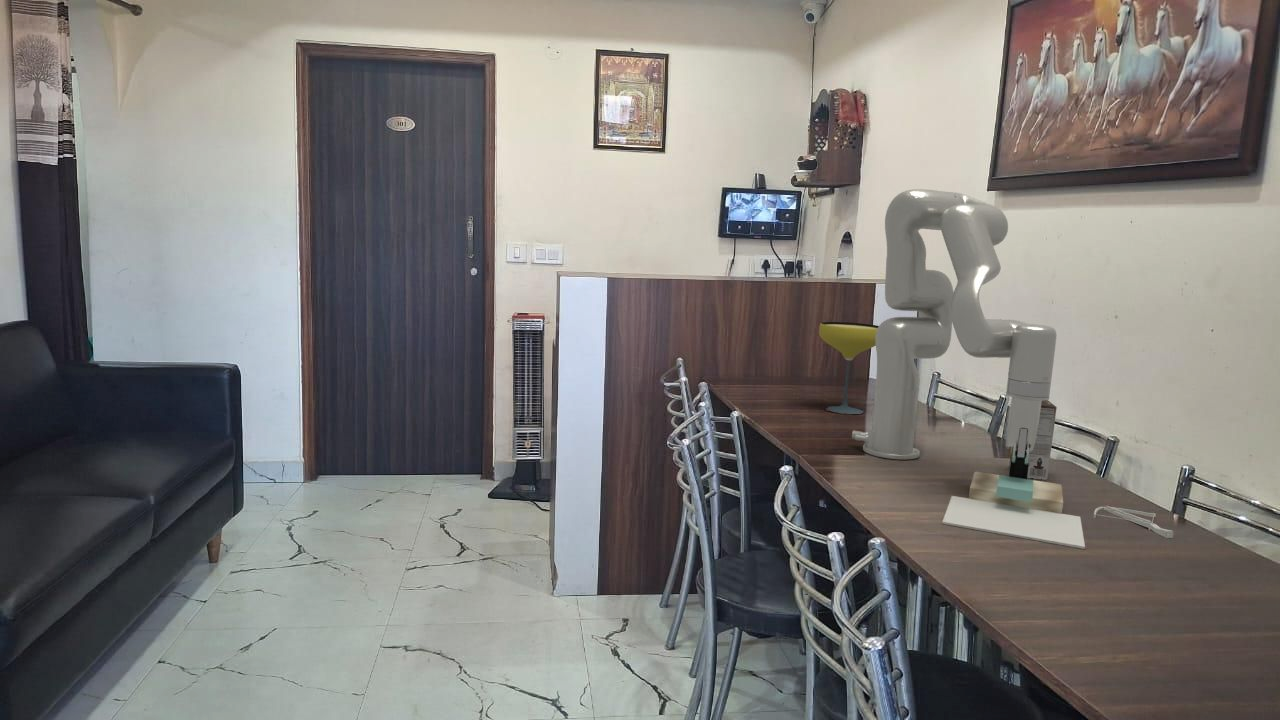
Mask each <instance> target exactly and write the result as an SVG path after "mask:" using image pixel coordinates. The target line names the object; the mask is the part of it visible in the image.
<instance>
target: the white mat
mask: <svg viewBox="0 0 1280 720" xmlns="http://www.w3.org/2000/svg"><path fill="white" fill-rule="evenodd" d="M941 525H946V526H947V525H948V526H952V527H959V528H964V529H969V530H976V531H980V532H986V533H990V534H991V533H992V534H998V535H1004V536H1009V537H1014V538H1019V539H1026V540H1031V541H1037V542H1042V543H1049V544H1054V545H1061V546H1065V547H1069V548H1076V549H1081V550H1085V549H1086V545H1085V544H1086V543H1085V539H1084V538H1085V537H1084V532H1083V525H1082V519H1081V516H1078V515H1072V514H1068V513H1067V514H1066V513H1062V514H1061V513H1055V512H1048V511H1042V510H1036V509H1030V508H1024V507H1018V506H1012V505H1005V504H999V503H993V502H987V501H981V500H975V499H969V497H962V496H954V495H951V497H950V500H949V503H948V505H947V507H946V511H945V513H944V516H943V519H942V523H941Z"/></svg>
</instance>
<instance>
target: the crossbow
mask: <svg viewBox="0 0 1280 720" xmlns="http://www.w3.org/2000/svg"><path fill="white" fill-rule="evenodd" d="M1101 510H1102V511H1103V510H1104V511H1106V512H1109V513H1110V514H1112V515H1115V516H1117V517H1118V520H1119V519H1120V520H1126V521H1129V522H1131V523H1135V524H1137V525H1140V526H1143V527H1144V528H1148V530H1149V531H1152V532H1154V533H1155V534H1157V535H1160V536H1161V537H1164V538H1165V539H1173V538H1174V530H1171V529H1165V528H1162V527H1160V526H1159V525H1157V524H1156V523H1155V522H1154V519H1155V518H1154V517H1157V513H1154V512H1145V511H1140V510H1133V509H1126V508H1122V507H1114V506H1109V505H1105V506H1098V507H1097V508H1095V510H1094V512H1093V519H1096V518H1097V516H1098V514H1097V513H1098V512H1099V511H1101ZM1134 514H1135V515H1134ZM1137 515H1140V516H1141V515H1142V516H1144V517H1149V518H1152V521H1151V520H1150V519H1146V518H1143V517H1139V516H1137ZM1099 516H1101V517H1104V515H1102V514H1099ZM1115 516H1112V518H1113V519H1116V517H1115ZM1106 517H1107V518H1108V517H1109V518H1110V516H1108V515H1106Z"/></svg>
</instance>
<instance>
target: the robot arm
mask: <svg viewBox="0 0 1280 720" xmlns="http://www.w3.org/2000/svg"><path fill="white" fill-rule="evenodd" d="M920 230H932V231H941V234H942V237H943V241H944V244H945V246H946V249H947V251H948V254H949V258H950V261H951V264H952V266H953V270H954V273H955V276H956V279H957V283H956V286H955V288H954V289H953V285H952V282H951V280H950V278H949V277H948V276H947V275H946V274H945V273H944V272H942V271H939V270H936V269H935V270H934V269H927V265H926V262H927V261H926V260H927V248H926V244H925V241H924V239H923V237H922V235H921V233H920V232H919V231H920ZM1008 230H1009V223H1008V219H1007V216H1006V215H1005V214H1004V212H1003V210H1001V209H1000V208H999V207H997V206H995V205H993V204H990V203H987V202H986V201H985V202H984V201H982V200H979V199H976V198H974V197H971V196H969V195H966V194H963V193H959V192H954V191H953V192H952V191H945V190H934V189H924V188H916V189H915V188H914V189H907V190H904V191H902V192H900V193H898V194H897V195H896V196H894V198H893V199H892V200H891V201H890V203H889V205H888V207H887V209H886V213H885V218H884V231H885V233H884V234H885V240H886V241H885V242H886V260H885V280H884V283H885V284H884V299H885V302H886V304H887V306H888V307H889V308H891V309H893V310H896V311H900V312H901V311H902V312H903V311H904V312H918V317H917V316H895V317H890V318H887V319H884V321H882V322H881V323H879V325H878V326H879V327H878V329H877V331H876V336H875V343H876V346H875V350H876V375H875V376H876V379H875V391H874V401H873V412H872V424H871V429H870V430H869V431H866V432H865V431H860V430H852V433H851V438H852V439H853V440H855V441H858V442H859V441H860V442H861V441H862V442H865V443H864V444H863V446H862V450H863V451H864V452H865V453H867V454H869V455H871V456H875V457H878V458H879V457H880V458H884V459H888V460H889V459H891V460H914V459H917V458H919V457H920V454H921V452H920V450H919V449H918V448H917V447H916V448H915V446H914V440H915V431H916V430H915V429H916V420H917V410H918V403H919V402H918V400H919V391H920V373H919V370H918V368H917V365H916V363H915V360H916V359H917V360H918V359H919V360H921V359H937V358H940V357H942V356H943V355H944V354H946V352H947V351H948V349H949V348H950V344H951V341H952V340H951V339H952V331H953V329H952V328H954V332H955V335H956V337H957V339H958V343H959V345H960V346H961V347H962V349H963V350H964V352H965V353H967V354H968V355H969V356H971V357H974V358H980V359H981V358H984V359H985V358H987V359H988V358H989V359H990V358H991V359H992V358H998V359H999V358H1000V359H1001V358H1002V359H1003V358H1005V359H1006V358H1008V359H1009V366H1008V375H1007V384H1006V392H1005V396H1008V397H1011V400H1010V405H1009V412H1008V420H1007V427H1006V428H1007V430H1006V437H1005V447H1006V448H1007V449H1010V448H1011V447H1013V446H1014V447H1013V458H1012V461H1011V463H1010V467H1009V473H1008V476H1009V477H1016V478H1022V479H1028V478H1027V475H1028V467H1029V463H1028V456H1029V449H1030V451H1032V450H1033V448H1034V444H1035V440H1036V436H1037V431H1038V425H1039V418H1040V410H1041V402H1042V400H1048V401H1050V392H1051V385H1052V377H1053V369H1054V368H1053V367H1054V360H1055V352H1056V344H1057V331H1056V329H1055V328H1054V327H1052V326H1050V325H1043V324H1031V323H1030V324H1029V323H1026V322H1024V321H1020V320H1015V319H1001V318H1000V319H999V318H998V319H995V318H994V319H992V318H991V319H990V318H989V319H988V318H986V317H985V315H984V312H983V309H982V306H981V303H980V290H981V288H982V286H984V285H985V284H987V283H990V282H991V281H992V280H993V279H995V278H996V277H997V276H999V274H1000V272H1001V269H1002V267H1001V263H1000V261H999V258H998V256H997V253H996V250H995V246H997V245H999V244H1000V243H1002V242H1003V241H1004V240H1005V238H1006V237H1007V235H1008ZM1015 458H1016V459H1015Z"/></svg>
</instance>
